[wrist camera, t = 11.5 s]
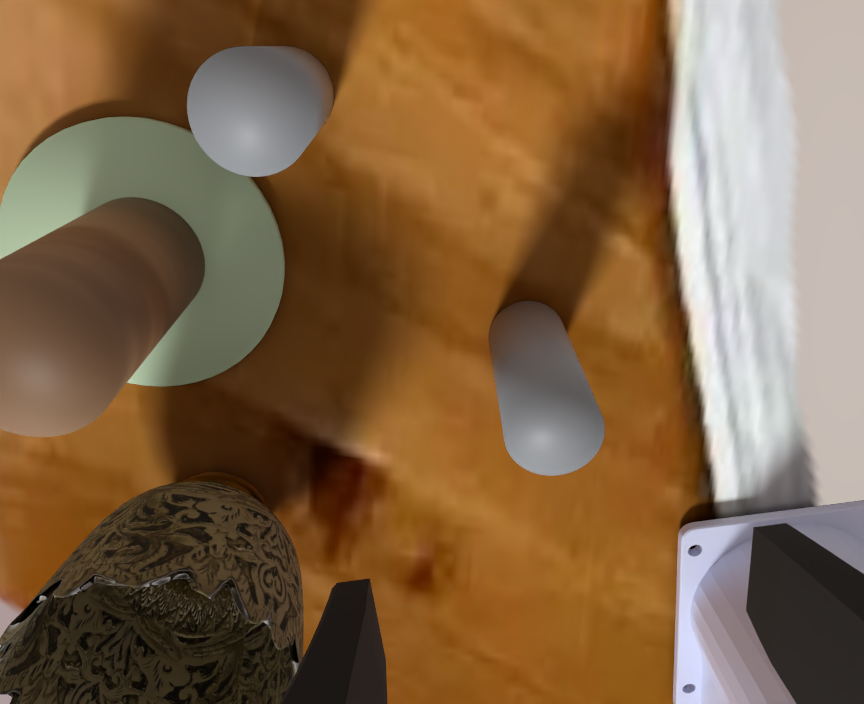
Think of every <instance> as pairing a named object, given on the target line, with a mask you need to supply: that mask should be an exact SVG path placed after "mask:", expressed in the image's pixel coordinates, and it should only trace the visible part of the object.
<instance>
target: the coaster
mask: <svg viewBox="0 0 864 704" xmlns="http://www.w3.org/2000/svg"><path fill="white" fill-rule="evenodd" d="M125 197H138V198H145V199H150V200H153V201H156V202H159V203H161V204H163V205H165V206H167V207H169V208H170V209H172V210H174V211H175V212H176V213H177V214H179V215H180V216H181V217H182V218H183V219H184V220H185V221H186V222H187V223H188V224H189V225H190V227H191V228H192V229H193V231H194V232H195V234H196V235H197V237H198V239H199V241H200V243H201V246H202V249H203V253H204V258H205V275H204V279H203V283H202V285H201V288H200V290H199V292H198V293H197V295H196V297H195V298H194V299H193V300H192V302H191V303H190V304H189V305H188V307H187V308H186V309H185V310H184V312H183V313H182V314H181V315H180V317H179V318H178V319H177V320H176V322H175V323H174V324H173V325H172V327H171V328H170V329H169V330H168V332H167V333H166V334H165V335H164V337H163V338H162V339H161V340H160V342H159V343H158V344H157V345H156V347H155V348H154V349H153V350H152V352H151V353H150V354H149V355H148V357H147V358H146V359H145V360H144V362H143V363H142V364H141V365H140V367H139V368H138V369H137V370H136V372H135V373H134V374H133V375H132V377H131V378H130V379H129V380H128V382H127V383H132V384H138V385H145V386H177V385H184V384H189V383H195V382H198V381H201V380H204V379H208V378H211V377H213V376H215V375H217V374H219V373H221V372H224V371H226V370H227V369H229V368H230V367H232V366H233V365H235V364H237V363H238V362H240V361H241V360H242V359H243V358H244V357H245V356H246V355H248V354H249V353H250V352H251V351H252V350H253V349H254V347H255V346H256V345H257V344H258V343H259V342H260V341H261V339H262V338H263V336H264V335H265V333H266V332H267V330H268V328H269V327H270V325H271V323H272V320H273V318H274V316H275V314H276V311H277V309H278V307H279V303H280V300H281V296H282V293H283V286H284V279H285V256H284V249H283V242H282V238H281V234H280V231H279V227H278V224H277V221H276V219H275V217H274V214H273V212H272V210H271V207H270V205H269V204H268V202H267V200H266V199H265V197H264V195H263V193H262V192H261V190H260V189H259V187H258V186H257V185H256V183H255V182H254V181H253V179H252V178H251V177H250V176H244V175H240V174H236V173H233V172H231V171H229V170H227V169H225V168H223V167H222V166H220V165H218V164H217V163H216V162H214V161H213V160H212V159H211V158H210V157H209V156H208V155H207V154H206V153H205V152H204V151H203V149H202V148H201V147H200V145H199V144H198V142H197V140H196V139H195V137H194V135H193V132H191V131H189V130H187V129H185V128H182V127H179V126H176V125H173V124H170V123H167V122H164V121H159V120H154V119H149V118H142V117H129V116H122V117H106V118H101V119H96V120H91V121H87V122H83V123H80V124H77V125H74V126H71V127H69V128H66V129H63V130H62V131H60V132H58V133H56V134H54V135H52V136H51V137H49V138H47V139H46V140H45V141H43V142H42V143H41V144H39V145H38V146H37V147H36V148H34V149H33V150H32V151H31V152H30V153H29V155H28V156H27V157H26V158H25V159H24V160H23V161H22V162H21V163H20V165H19V166H18V168H17V169H16V171H15V172H14V174H13V175H12V177H11V179H10V181H9V184H8V186H7V188H6V190H5V192H4V196H3V200H2V203H1V207H0V259H2V258H4V257H5V256H7V255H9V254H11V253H13V252H15V251H17V250H19V249H20V248H22V247H24V246H26V245H28V244H30V243H32V242H33V241H35V240H37V239H39V238H41V237H43V236H45V235H46V234H48V233H50V232H52V231H54V230H56V229H58V228H60V227H61V226H63V225H65V224H67V223H69V222H71V221H73V220H74V219H76V218H78V217H80V216H82V215H84V214H86V213H87V212H89V211H91V210H93V209H95V208H97V207H99V206H101V205H102V204H104V203H106V202H109V201H111V200H114V199H119V198H125Z"/></svg>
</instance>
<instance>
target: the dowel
mask: <svg viewBox="0 0 864 704" xmlns="http://www.w3.org/2000/svg"><path fill="white" fill-rule="evenodd" d="M204 275H205V258H204V253H203V249H202V246H201V243H200V241H199V239H198V237H197V235H196V234H195V232H194V231H193V229H192V228H191V227H190V225H189V224H188V223H187V222H186V221H185V220H184V219H183V218H182V217H181V216H180V215H179V214H177V213H176V212H175V211H174V210H172V209H170V208H169V207H167V206H165V205H163V204H161V203H159V202H156V201H153V200H150V199H145V198H138V197H125V198H119V199H114V200H111V201H109V202H106V203H104V204H102V205H101V206H99V207H97V208H95V209H93V210H91V211H89V212H87V213H86V214H84V215H82V216H80V217H78V218H76V219H74V220H73V221H71V222H69V223H67V224H65V225H63V226H61V227H60V228H58V229H56V230H54V231H52V232H50V233H48V234H46V235H45V236H43V237H41V238H39V239H37V240H35V241H33V242H32V243H30V244H28V245H26V246H24V247H22V248H20V249H19V250H17V251H15V252H13V253H11V254H9V255H7V256H5V257H4V258H2V259H0V429H2V430H4V431H7V432H11V433H15V434H19V435H25V436H31V437H51V436H59V435H64V434H68V433H71V432H74V431H77V430H79V429H81V428H83V427H85V426H87V425H88V424H90V423H91V422H93V421H94V420H95V419H97V418H98V417H99V416H100V415H101V414H102V413H103V412H104V410H105V409H106V408H107V407H108V405H109V404H110V403H111V402H112V400H113V399H114V398H115V397H116V395H117V394H118V393H119V392H120V390H121V389H122V388H123V387H124V385H125V384H126V383H127V382H128V380H129V379H130V378H131V377H132V375H133V374H134V373H135V372H136V370H137V369H138V368H139V367H140V365H141V364H142V363H143V362H144V360H145V359H146V358H147V357H148V355H149V354H150V353H151V352H152V350H153V349H154V348H155V347H156V345H157V344H158V343H159V342H160V340H161V339H162V338H163V337H164V335H165V334H166V333H167V332H168V330H169V329H170V328H171V327H172V325H173V324H174V323H175V322H176V320H177V319H178V318H179V317H180V315H181V314H182V313H183V312H184V310H185V309H186V308H187V307H188V305H189V304H190V303H191V302H192V300H193V299H194V298H195V297H196V295H197V293H198V292H199V290H200V288H201V285H202V283H203V279H204Z"/></svg>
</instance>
